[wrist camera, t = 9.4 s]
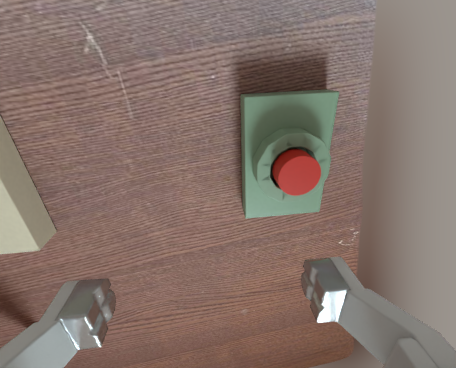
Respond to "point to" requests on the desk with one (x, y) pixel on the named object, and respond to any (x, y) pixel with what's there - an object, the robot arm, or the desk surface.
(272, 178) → the box
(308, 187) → the button
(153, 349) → the desk surface
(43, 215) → the stove panel
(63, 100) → the desk surface
